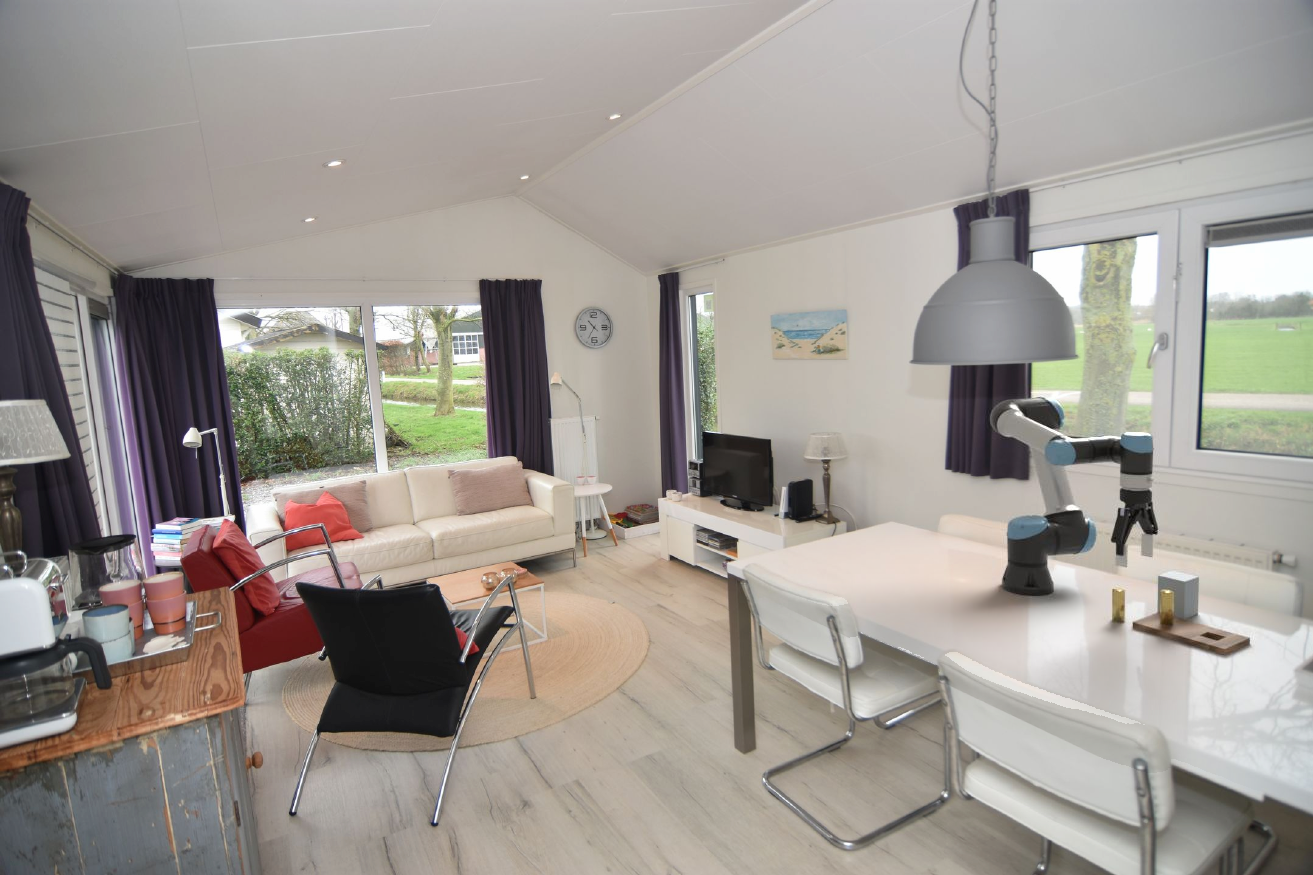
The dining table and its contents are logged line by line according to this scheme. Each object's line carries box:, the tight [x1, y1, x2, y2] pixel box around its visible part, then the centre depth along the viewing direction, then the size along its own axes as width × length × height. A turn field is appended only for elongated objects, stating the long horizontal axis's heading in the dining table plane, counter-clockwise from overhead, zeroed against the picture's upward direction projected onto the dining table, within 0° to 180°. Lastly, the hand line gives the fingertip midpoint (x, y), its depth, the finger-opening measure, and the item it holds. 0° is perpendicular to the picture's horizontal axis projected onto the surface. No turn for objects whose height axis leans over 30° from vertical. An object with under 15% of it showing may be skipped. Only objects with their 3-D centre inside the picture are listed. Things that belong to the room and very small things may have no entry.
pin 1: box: [1111, 587, 1126, 623], centre depth 201 cm, size 3×3×9 cm
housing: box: [1157, 570, 1200, 620], centre depth 203 cm, size 7×7×11 cm
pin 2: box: [1159, 590, 1174, 625], centre depth 193 cm, size 3×3×9 cm
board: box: [1132, 612, 1251, 656], centre depth 189 cm, size 22×12×2 cm, turn 26°
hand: (1134, 561), depth 200 cm, fingers open, 13 cm apart
